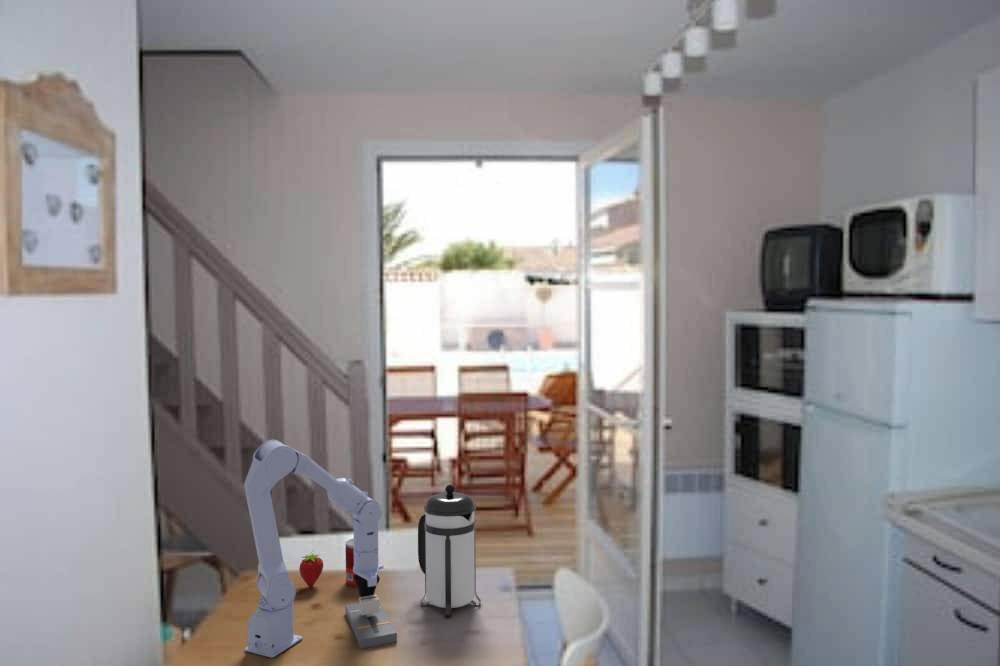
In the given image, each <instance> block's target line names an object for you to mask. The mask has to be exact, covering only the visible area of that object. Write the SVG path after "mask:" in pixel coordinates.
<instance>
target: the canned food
mask: <svg viewBox="0 0 1000 666" xmlns="http://www.w3.org/2000/svg"><path fill="white" fill-rule="evenodd" d="M353 567H354V537H353V538H350V539H348V540H346V542H345V582H346V584H347V585H348V586H350V587H352V588H353V587H354V588H358V587H357V584H356V582H355V580H354V578H353V575H355V573H354V572H353Z"/></svg>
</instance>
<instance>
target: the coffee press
mask: <svg viewBox="0 0 1000 666" xmlns="http://www.w3.org/2000/svg"><path fill="white" fill-rule="evenodd" d="M444 490H445V492H439V493H437V494H434V495H432V496H430V497H429V498H428V499H427V500H426V502H425V504H424V505H423V511H424V513H425V514H422V516H420V518H419V521H418V525H417V555H418V556H417V557H418V558H417V559H418V564H419V567H420V570H421V572H422V573H423V574H424V587H425V588H424V596H422V598H421V600H420V605H421V607H426V606H427V605H428V604H431V605H433V606H435V607H438V608H443V609H445V611H444V618H452V611H453V609H454V608H461V607H464V606H467V605H468V604H470V603H472V604H473V606H475V607H477V606H476V603H477V602H476V601H475V600H474V597H475V598H476V600H478V602H479V603H478V604H479V606H478V607H480V606H481V603H482V600H481V599H480V597H479V596H478V594H477V576H476V575H477V573H476V572H477V565H476V564H477V563H476V562H477V561H476V559H477V557H476V555H477V554H476V549H477V548H476V541H477V540H476V532H475V530H476V518H475V511H476V510H477V504H476V503H475V502H474V499H473V498H472V497H471V496H470V495H468V494H465V493H462V492H455V486H453V485H452V484H447V485H446V486H445V489H444ZM425 597H426V599H427V602H426V603H424V602H422V601H423V600H425ZM452 608H453V609H452Z"/></svg>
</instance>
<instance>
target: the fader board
mask: <svg viewBox="0 0 1000 666" xmlns="http://www.w3.org/2000/svg"><path fill="white" fill-rule="evenodd" d="M345 615H346V618H347V620H348V622H349V625H350V628H351V629H352V632H353V633H354V634H353V635H354V636H355V639H356V641H357V644H358V646H359V648H360V650H361V649H367V648H373V647H378V646H382V645H389V644H393V643H398V633H397V630H396V629H395V627H394V625H393V623H392V622H391V620H390V618H389V616H388V614H387V612H386V610H385V609H384V607H383V606H382V603H381V602H380V600H379V612H378V613H372V616H370V617H367V616H366V615H361V613H360V610H359V602H357V603H351V604H345Z"/></svg>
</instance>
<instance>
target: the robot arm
mask: <svg viewBox="0 0 1000 666" xmlns="http://www.w3.org/2000/svg"><path fill="white" fill-rule="evenodd" d="M290 473H293V474H294V475H298V474H303V475H305V476H306V477H308V478H310V479H311V480H312V481H314V482H315V483H316V484H318V485H320V487H322V488H324V489H325V490H326V492H327V493H326V494H327V499H328V500H329V501H331V502H332V503H334V504H335V505H336V506H337V507H340V509H342V510H344V511H345V512H346V513H348V514H349V515H350V517H352V518H353V530H352V531H353V538H354V567H353V572H354V573H355V575H353V578H354V580H355V582H356V584H357V587H356V588H357V590H358V594H359V597H364V596H370V595H375V591H376V588H377V586H378V584H379V582H380V579H381V578H380V576H379V571H380V570H384V564H383V563H379V521H380V520H381V518H382V515H383V510H382V509H381V507H380V506H381V505H380V504H379V502H377V500H374V499H372V498H371V497H370V496H369V493H368V492H367V491H365V490H363V491H362V490H361V489H360V488H358V487H357V486H355V485H354V483H355V482H354V480H352V479H351V478H350V477H349V478H348V477H347V478H345V477H340V478H336V477H334V476H333V475H331V474H330V473H329V472H328V471H326V469H324V468H323V467H322V466H320V465H319V464H318V463H317V462H315V461H314V460H313V459H311V458H310V457H309V456H308V455H306V454H304V453H302V452H300V451H298V450H296V449H294V448H292V447H291V446H289V445H285V444H283V442H281V441H280V440H278V439H268V440H267V441H265V442H263V443H262V444H261V445H260V446H259V447H258V448H257V450H255V452H253V455H252V462H251V464H250V467H249V469H248V473H247V475H246V478H245V481H244V484H243V485H244V488H243V489H244V491H245V492H244V493H245V497H246V503H247V507H248V514H249V518H250V523H251V524H250V525H251V527H252V532H253V539H254V544H255V548H256V549H255V550H256V554H257V560H258V565H257V571H258V572H257V573H258V575H257V579H256V581H255V582H256V585H255V586H256V590H257V591H258V592H259V593H260V594H261V596H260V598H259V601H258V606H257V609H256V610H255V612H254V613H252V615H250V616H249V618H248V621H247V623H246V624H247V625H246V626H247V628H246V629H247V632H246V634H247V646H246V647H245V648H244V651H245V652H249V653H253V654H256V655H259V656H263V657H266V658H275V657H277V656H279V654H281V653H283V652H285V651H286V650H287V649H289V648H291V647H292V646H294V645H295V644H297V643H298V642H300V641H301V640H303V636H302V635H297V634H295V633H294V631H295V630H294V629H295V627H294V625H295V622H294V600H295V597H296V594H297V587H296V584H295V583H294V581H292V580H291V578H290V576H289V571H288V568H287V565H286V564H285V560H284V557H283V551H282V548H281V547H282V546H281V541H280V536H279V531H278V526H277V520H276V516H275V510H274V504H273V499H272V495H271V490H272V489H273V488H274V487H275V486H276V484H277V483H278V481H280V480H281V479H283V478H284V477H286V476H288V475H289V474H290Z"/></svg>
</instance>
